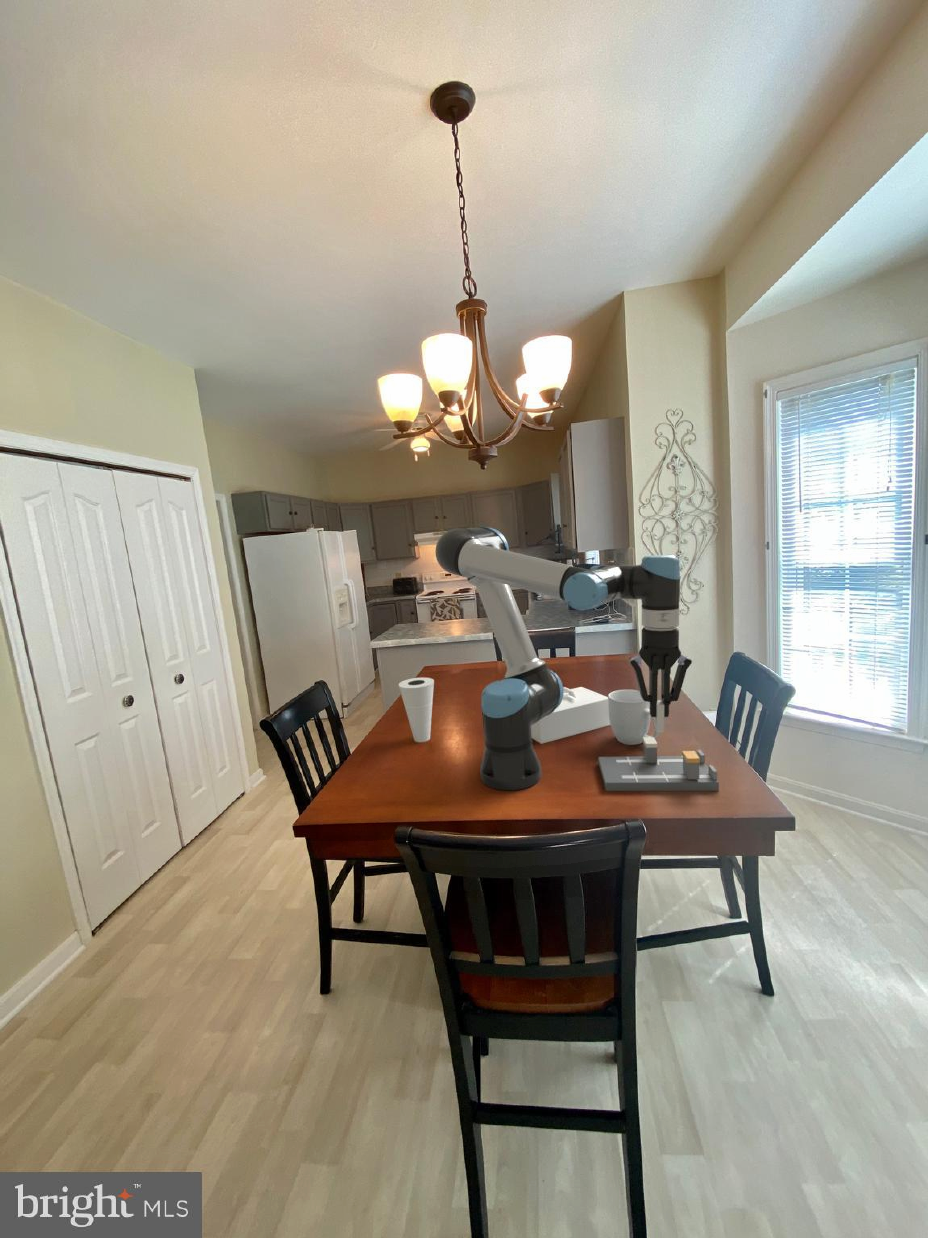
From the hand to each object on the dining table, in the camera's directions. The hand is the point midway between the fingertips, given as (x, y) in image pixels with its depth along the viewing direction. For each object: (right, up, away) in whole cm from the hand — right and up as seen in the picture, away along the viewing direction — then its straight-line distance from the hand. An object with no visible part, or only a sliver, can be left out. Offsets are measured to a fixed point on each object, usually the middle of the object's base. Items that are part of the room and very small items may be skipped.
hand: (658, 730), depth 108 cm
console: (+1, -12, +6) cm, 14 cm away
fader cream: (+2, -10, +9) cm, 13 cm away
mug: (+3, -9, +25) cm, 27 cm away
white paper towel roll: (-57, -12, +40) cm, 70 cm away
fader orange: (+7, -11, 0) cm, 13 cm away
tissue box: (-13, -9, +40) cm, 43 cm away
